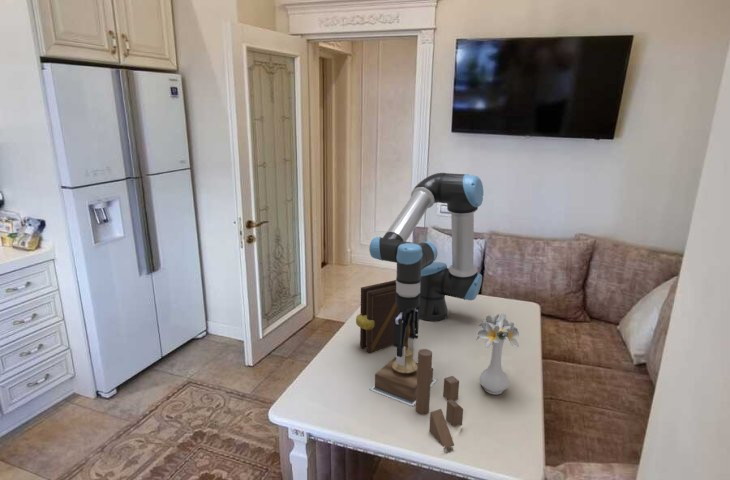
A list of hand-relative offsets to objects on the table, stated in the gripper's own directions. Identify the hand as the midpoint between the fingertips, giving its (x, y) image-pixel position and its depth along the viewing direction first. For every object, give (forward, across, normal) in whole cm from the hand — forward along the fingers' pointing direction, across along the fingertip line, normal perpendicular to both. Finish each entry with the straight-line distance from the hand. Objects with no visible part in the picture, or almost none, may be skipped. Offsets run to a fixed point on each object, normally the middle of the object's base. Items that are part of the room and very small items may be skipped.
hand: (405, 360), depth 145 cm
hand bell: (+3, 0, 0) cm, 3 cm away
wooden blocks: (+10, +8, +19) cm, 23 cm away
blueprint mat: (+10, 0, 0) cm, 10 cm away
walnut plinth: (+10, 0, 0) cm, 10 cm away
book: (+10, -19, -20) cm, 29 cm away
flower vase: (+10, -15, +24) cm, 30 cm away
